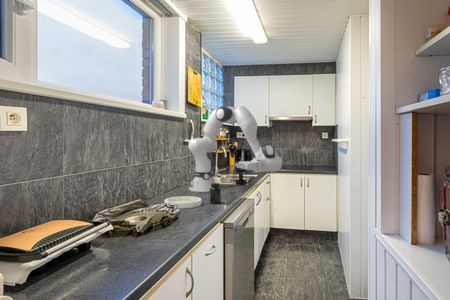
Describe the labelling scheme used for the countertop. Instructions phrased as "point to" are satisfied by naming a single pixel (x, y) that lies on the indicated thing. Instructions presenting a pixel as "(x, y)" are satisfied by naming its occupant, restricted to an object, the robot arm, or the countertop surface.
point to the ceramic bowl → (184, 201)
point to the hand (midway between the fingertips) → (234, 165)
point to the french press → (240, 177)
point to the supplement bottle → (215, 193)
